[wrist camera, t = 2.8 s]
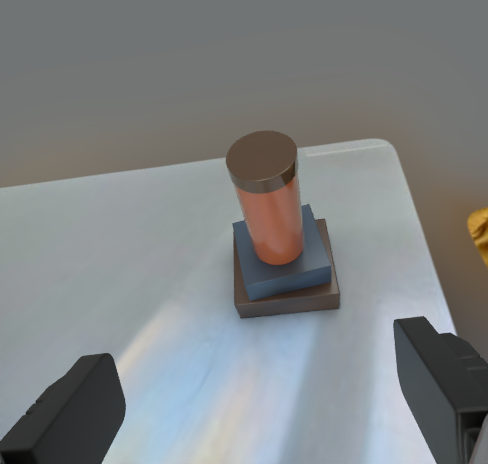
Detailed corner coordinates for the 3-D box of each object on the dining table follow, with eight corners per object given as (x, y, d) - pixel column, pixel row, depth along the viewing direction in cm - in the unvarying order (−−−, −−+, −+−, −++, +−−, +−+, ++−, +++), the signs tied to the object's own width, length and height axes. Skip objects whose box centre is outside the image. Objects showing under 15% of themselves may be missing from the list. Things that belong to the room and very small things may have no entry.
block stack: (240, 318, 40) (227, 290, 35) (238, 246, 45) (227, 213, 40) (339, 308, 39) (340, 277, 34) (325, 235, 44) (324, 200, 39)
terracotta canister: (252, 269, 36) (225, 185, 27) (250, 225, 39) (225, 136, 30) (309, 262, 35) (301, 174, 26) (302, 217, 38) (292, 125, 29)
